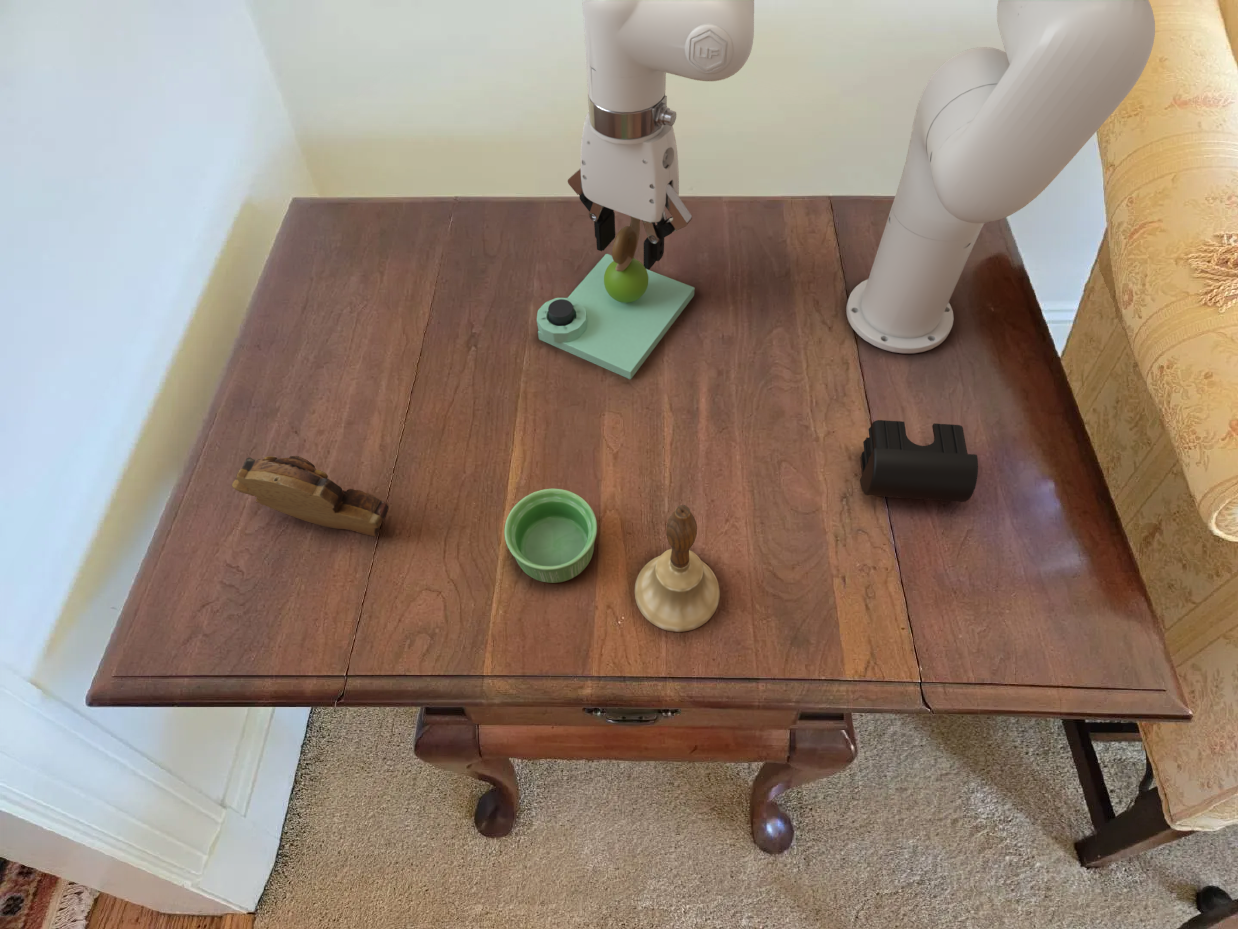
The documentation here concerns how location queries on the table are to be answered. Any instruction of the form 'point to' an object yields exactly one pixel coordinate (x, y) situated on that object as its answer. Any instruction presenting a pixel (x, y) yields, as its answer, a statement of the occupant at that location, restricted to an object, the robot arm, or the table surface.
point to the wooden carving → (309, 494)
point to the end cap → (917, 464)
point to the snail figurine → (626, 266)
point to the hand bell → (678, 581)
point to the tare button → (561, 312)
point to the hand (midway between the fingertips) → (629, 251)
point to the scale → (616, 321)
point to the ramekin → (551, 534)
